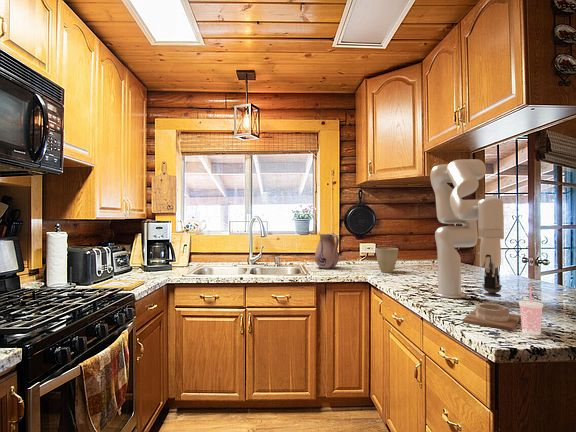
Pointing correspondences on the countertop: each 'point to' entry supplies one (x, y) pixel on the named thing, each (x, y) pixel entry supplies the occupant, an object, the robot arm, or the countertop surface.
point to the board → (493, 317)
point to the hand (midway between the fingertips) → (492, 286)
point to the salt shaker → (493, 291)
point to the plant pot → (386, 259)
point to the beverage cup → (531, 316)
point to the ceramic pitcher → (327, 251)
